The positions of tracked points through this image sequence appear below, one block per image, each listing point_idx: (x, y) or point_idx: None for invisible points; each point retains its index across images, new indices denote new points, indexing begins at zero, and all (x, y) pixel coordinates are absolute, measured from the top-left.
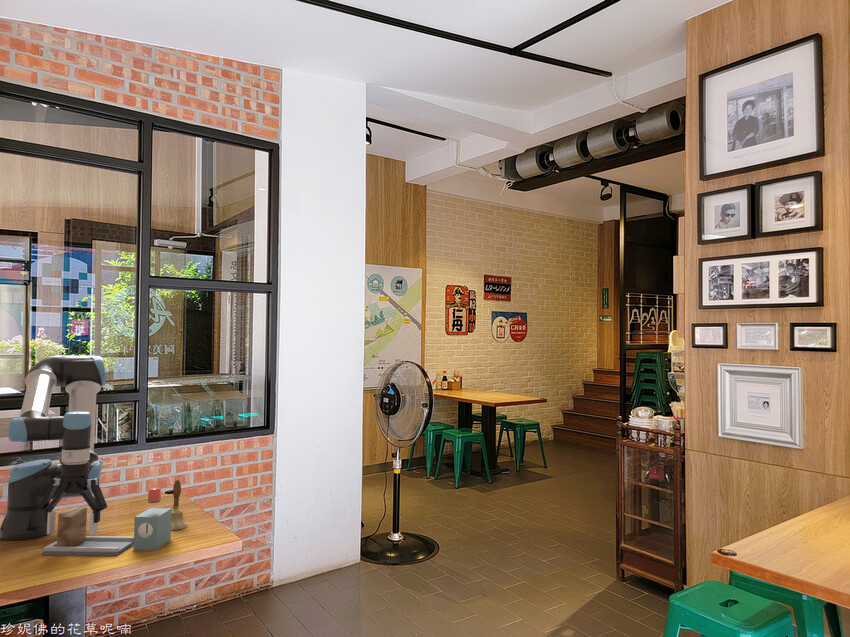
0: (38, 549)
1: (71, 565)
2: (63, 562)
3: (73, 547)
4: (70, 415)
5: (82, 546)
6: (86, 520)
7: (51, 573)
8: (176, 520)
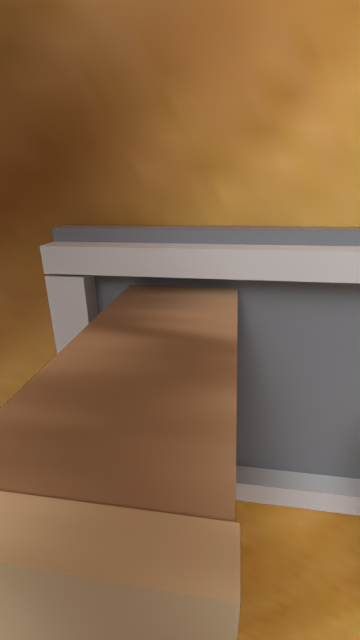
0: (2, 371)
1: (337, 592)
2: (274, 556)
3: (265, 497)
4: None
5: (281, 407)
6: (236, 374)
7: None
8: None
